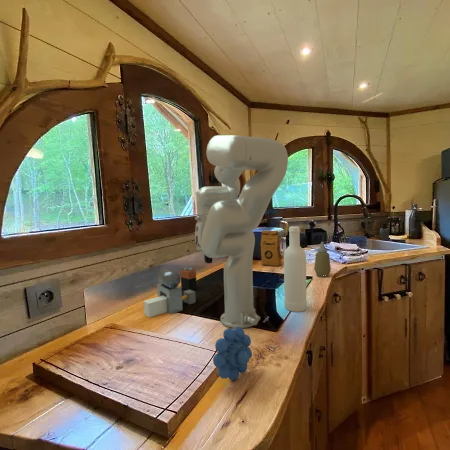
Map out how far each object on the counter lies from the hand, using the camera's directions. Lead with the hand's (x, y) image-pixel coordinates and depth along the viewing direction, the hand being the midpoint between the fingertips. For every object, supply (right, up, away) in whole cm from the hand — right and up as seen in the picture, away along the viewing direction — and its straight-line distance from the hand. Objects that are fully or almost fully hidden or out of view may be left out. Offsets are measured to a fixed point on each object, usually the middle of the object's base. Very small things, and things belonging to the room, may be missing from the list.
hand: (208, 262), depth 110 cm
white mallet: (-14, -16, -9) cm, 23 cm away
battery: (-10, -15, +14) cm, 23 cm away
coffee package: (+36, -10, +57) cm, 68 cm away
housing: (-14, -16, -9) cm, 23 cm away
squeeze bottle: (+58, -11, +28) cm, 65 cm away
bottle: (+33, -15, -13) cm, 38 cm away
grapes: (+10, -19, -53) cm, 57 cm away
